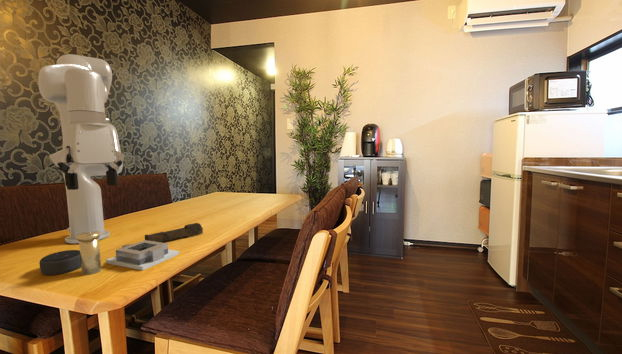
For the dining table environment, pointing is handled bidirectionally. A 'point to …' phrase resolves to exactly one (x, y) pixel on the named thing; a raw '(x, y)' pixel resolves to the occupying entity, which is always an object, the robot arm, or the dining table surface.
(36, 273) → the dining table surface
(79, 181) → the robot arm
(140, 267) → the board
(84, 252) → the brass pin
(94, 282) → the dining table surface
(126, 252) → the grey holder fixture
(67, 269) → the smart speaker
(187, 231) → the hand tool
